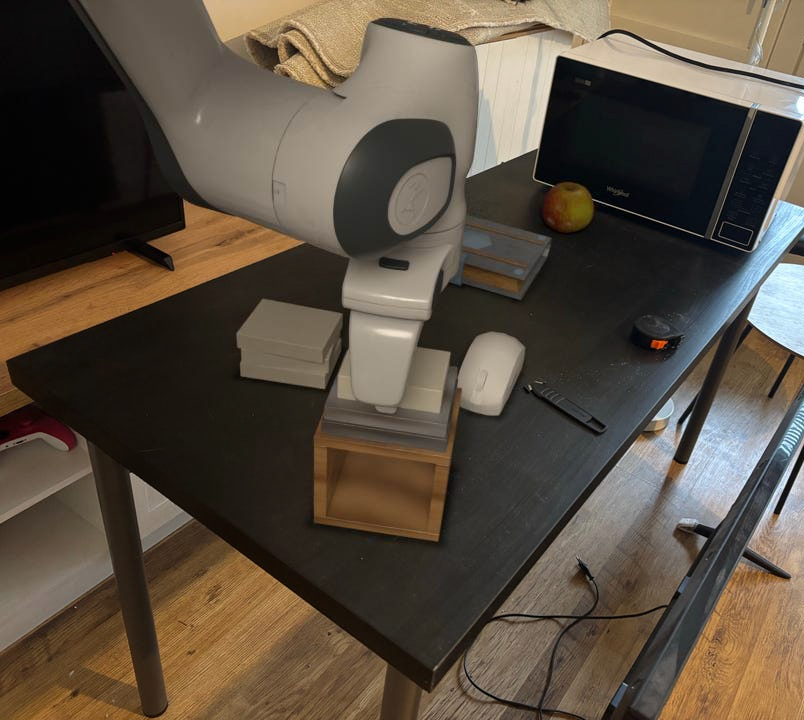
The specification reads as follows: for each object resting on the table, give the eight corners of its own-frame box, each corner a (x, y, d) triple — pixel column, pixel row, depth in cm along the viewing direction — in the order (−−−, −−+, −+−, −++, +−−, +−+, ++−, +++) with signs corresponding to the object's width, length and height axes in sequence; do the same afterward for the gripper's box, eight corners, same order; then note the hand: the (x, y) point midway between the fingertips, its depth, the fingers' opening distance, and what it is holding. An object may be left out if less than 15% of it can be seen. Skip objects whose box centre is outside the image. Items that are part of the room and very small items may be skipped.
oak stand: (438, 541, 70) (454, 431, 62) (313, 522, 70) (313, 410, 62) (450, 469, 78) (465, 363, 70) (338, 452, 78) (341, 344, 70)
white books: (326, 392, 86) (326, 350, 83) (237, 378, 86) (233, 335, 82) (344, 349, 93) (345, 309, 90) (261, 336, 93) (259, 295, 90)
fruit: (538, 213, 135) (546, 172, 131) (587, 220, 136) (596, 179, 131) (538, 236, 128) (547, 193, 123) (590, 244, 128) (600, 201, 123)
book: (548, 258, 121) (553, 230, 118) (519, 303, 108) (525, 274, 105) (430, 225, 125) (433, 198, 122) (389, 265, 112) (391, 235, 109)
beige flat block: (439, 414, 64) (442, 391, 62) (336, 398, 64) (337, 375, 62) (448, 373, 69) (450, 351, 67) (352, 358, 69) (353, 336, 67)
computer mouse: (447, 406, 87) (453, 363, 83) (479, 349, 97) (485, 309, 94) (499, 422, 86) (507, 379, 82) (526, 362, 96) (534, 322, 92)
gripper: (390, 185, 66) (382, 314, 74) (335, 300, 50) (332, 451, 58) (459, 196, 66) (443, 324, 74) (428, 314, 50) (412, 463, 58)
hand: (394, 381), depth 66 cm, fingers open, 6 cm apart
